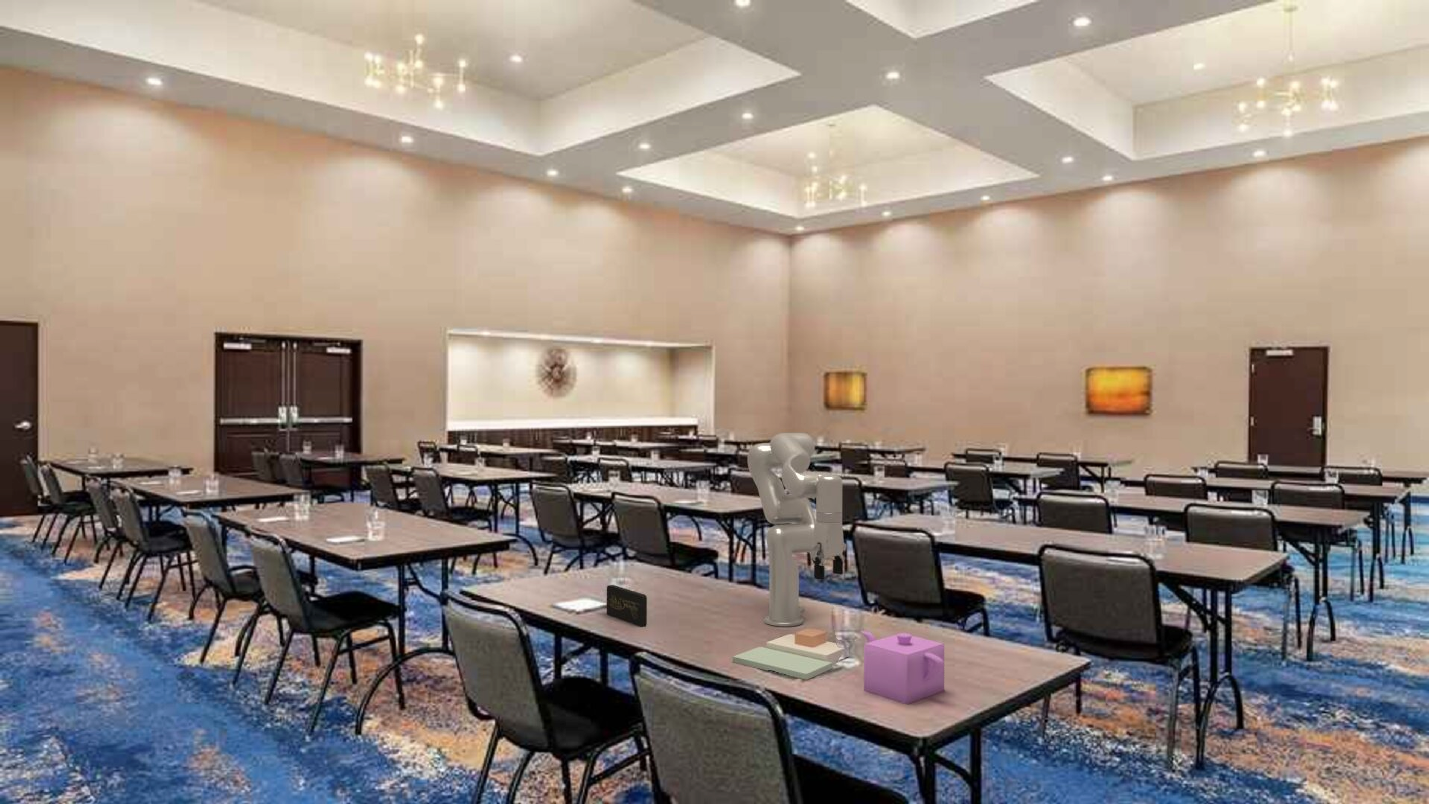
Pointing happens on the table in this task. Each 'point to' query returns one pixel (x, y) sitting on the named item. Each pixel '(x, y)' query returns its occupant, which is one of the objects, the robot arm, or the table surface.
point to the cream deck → (807, 649)
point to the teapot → (903, 667)
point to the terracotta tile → (810, 637)
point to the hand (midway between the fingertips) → (828, 576)
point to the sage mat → (783, 662)
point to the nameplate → (627, 605)
